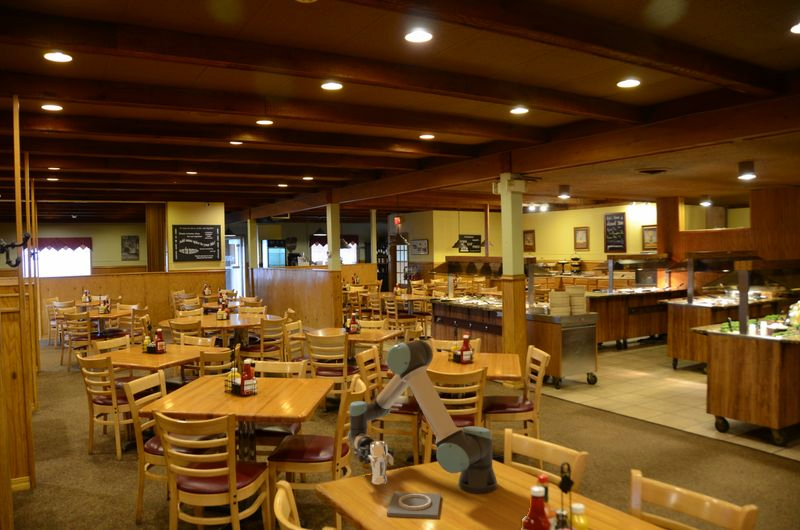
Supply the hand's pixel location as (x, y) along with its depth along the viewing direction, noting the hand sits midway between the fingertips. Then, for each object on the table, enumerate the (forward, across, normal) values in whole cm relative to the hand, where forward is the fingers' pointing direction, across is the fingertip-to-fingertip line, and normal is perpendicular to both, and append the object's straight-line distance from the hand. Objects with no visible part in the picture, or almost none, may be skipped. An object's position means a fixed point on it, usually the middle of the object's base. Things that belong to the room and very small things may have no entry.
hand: (383, 462), depth 224 cm
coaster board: (+13, -8, -13) cm, 20 cm away
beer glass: (-5, 0, -9) cm, 10 cm away
